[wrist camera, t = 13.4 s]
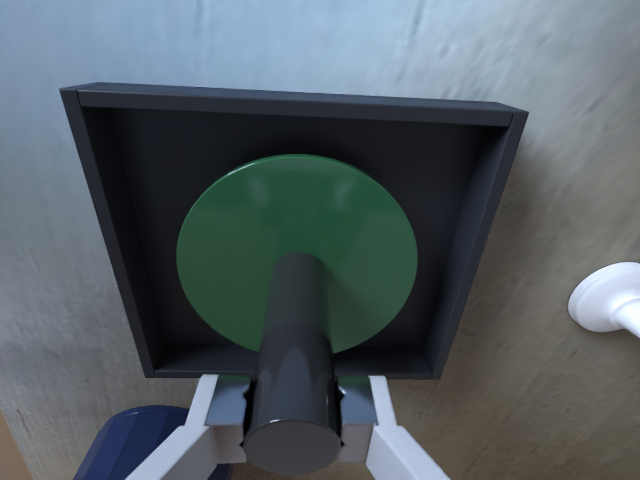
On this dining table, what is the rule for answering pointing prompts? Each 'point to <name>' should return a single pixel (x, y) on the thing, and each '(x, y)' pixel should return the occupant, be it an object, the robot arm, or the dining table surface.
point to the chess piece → (608, 299)
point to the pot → (135, 443)
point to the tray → (277, 139)
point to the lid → (296, 289)
